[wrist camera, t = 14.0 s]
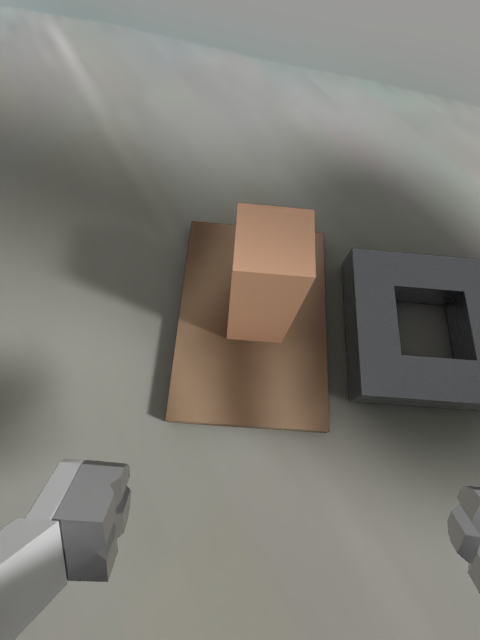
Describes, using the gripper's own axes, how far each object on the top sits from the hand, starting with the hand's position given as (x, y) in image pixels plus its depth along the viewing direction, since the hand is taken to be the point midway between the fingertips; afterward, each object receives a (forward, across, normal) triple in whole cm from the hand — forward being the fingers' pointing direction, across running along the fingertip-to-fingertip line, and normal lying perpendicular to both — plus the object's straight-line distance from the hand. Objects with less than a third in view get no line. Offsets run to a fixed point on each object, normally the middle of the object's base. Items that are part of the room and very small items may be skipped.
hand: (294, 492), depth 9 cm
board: (+20, 0, +4) cm, 20 cm away
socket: (+20, -13, +4) cm, 24 cm away
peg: (+19, 0, +3) cm, 19 cm away
